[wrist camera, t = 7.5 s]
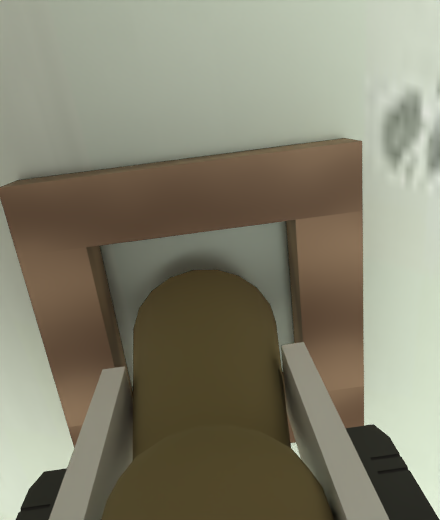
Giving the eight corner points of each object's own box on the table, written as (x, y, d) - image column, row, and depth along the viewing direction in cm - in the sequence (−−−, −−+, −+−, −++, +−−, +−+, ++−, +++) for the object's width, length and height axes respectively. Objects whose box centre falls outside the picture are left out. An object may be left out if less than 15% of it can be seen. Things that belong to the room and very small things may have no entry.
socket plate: (17, 180, 18) (-3, 188, 16) (344, 138, 18) (361, 140, 16) (91, 442, 23) (81, 472, 21) (349, 406, 23) (363, 432, 21)
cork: (236, 414, 19) (287, 766, 9) (110, 366, 18) (-1, 709, 8) (302, 304, 18) (459, 576, 7) (169, 244, 16) (129, 468, 6)
